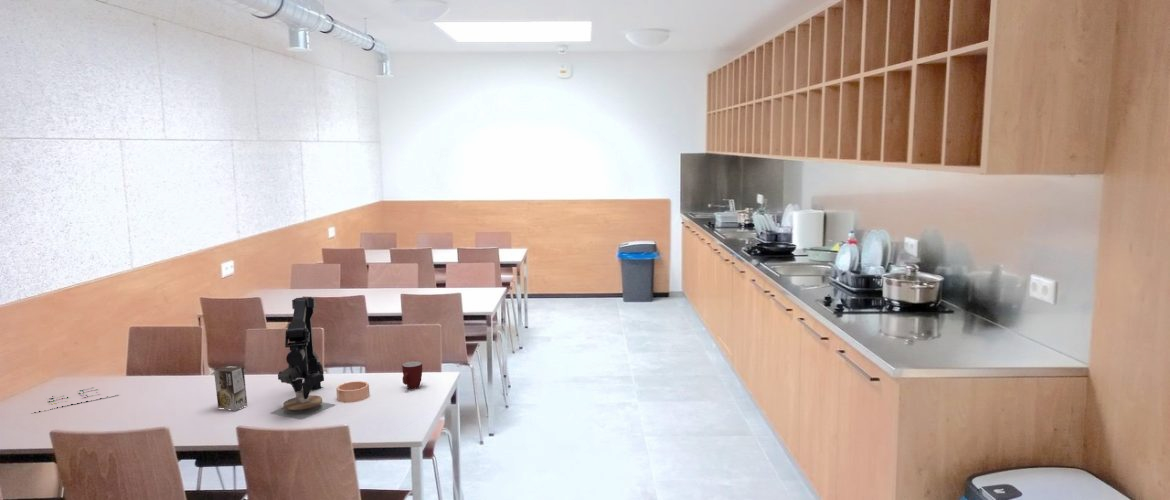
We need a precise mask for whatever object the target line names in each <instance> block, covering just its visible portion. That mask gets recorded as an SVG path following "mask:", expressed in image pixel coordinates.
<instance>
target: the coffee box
mask: <svg viewBox="0 0 1170 500" xmlns="http://www.w3.org/2000/svg"><path fill="white" fill-rule="evenodd" d="M213 374H214V382H215V390H216V400H217V408H224V409H231V410H237V409H240V408H242V407H244V406H247V407H248V400H247V399H248V397H247V389H246V379H245V368H244V366H237V365H224V366H222V367H221V366H220V367H219V368H216V369H214V370H213ZM244 408H245V407H244ZM242 409H243V408H242ZM240 410H241V409H240ZM237 411H238V410H237Z"/></svg>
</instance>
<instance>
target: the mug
mask: <svg viewBox="0 0 1170 500" xmlns="http://www.w3.org/2000/svg"><path fill="white" fill-rule="evenodd" d="M401 369H402V384H404V385H405V386H407V387H408V389H410V390H414V389H418V388H419V387H420V385H421V382H422V377H423V362H421V361H415V360H414V361H406V362H404V363H402V366H401Z"/></svg>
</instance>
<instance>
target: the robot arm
mask: <svg viewBox="0 0 1170 500" xmlns="http://www.w3.org/2000/svg"><path fill="white" fill-rule="evenodd" d="M316 302H317V301H316V299H315V298H313V297H312V296H307V297H306V296H302V297H296V298H294V299H292V301H291V307H292V310H293V314H292V315H293V316H292V321H291V322H290V323H288V325H287V329H286V330H285V339H284V340H285V343H284V347H285V348H289V351H288V353H287V355H286V358H285V359H286V360H285V361H286V362H287V364H288V367H287V368H285V369H284V370H280V371H279V372H278V374H277V380H279V381H280V382H281V383H282V384H283V383H284V384H286V385H287V384H289V385H291V387H292V388H293V391H294V392H295V394H296V392H297V391H300V390H303V394H304V399H307V398H308V396H309V395H310V393H311V391H317V390H320V389H324V387H323V386H322V382H324V381H325V377H324V367H323V365H322V363H321V361H320V358H319V355H318V354H317V353H316V352H315V347H314V338H313V337H314V335H313V333H314V332H313V324H312V323H313V321H312V316H313V314H314V313H315V309H316V307H317V305H316Z"/></svg>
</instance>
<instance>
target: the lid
mask: <svg viewBox="0 0 1170 500" xmlns="http://www.w3.org/2000/svg"><path fill="white" fill-rule="evenodd" d="M322 402H323V397H322V396H319V395H310V394H309V396H308V398H307V399H304V394H303V389H302V390H300V391H297V392H296V393H295V397H292V398H289V399H288V400H286V401H284V402H283V404H282V405H283V407H282V408H285V409H289V410H302V409H308V408H312V407H315V406H317V405H319V404H321V403H322Z"/></svg>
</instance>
